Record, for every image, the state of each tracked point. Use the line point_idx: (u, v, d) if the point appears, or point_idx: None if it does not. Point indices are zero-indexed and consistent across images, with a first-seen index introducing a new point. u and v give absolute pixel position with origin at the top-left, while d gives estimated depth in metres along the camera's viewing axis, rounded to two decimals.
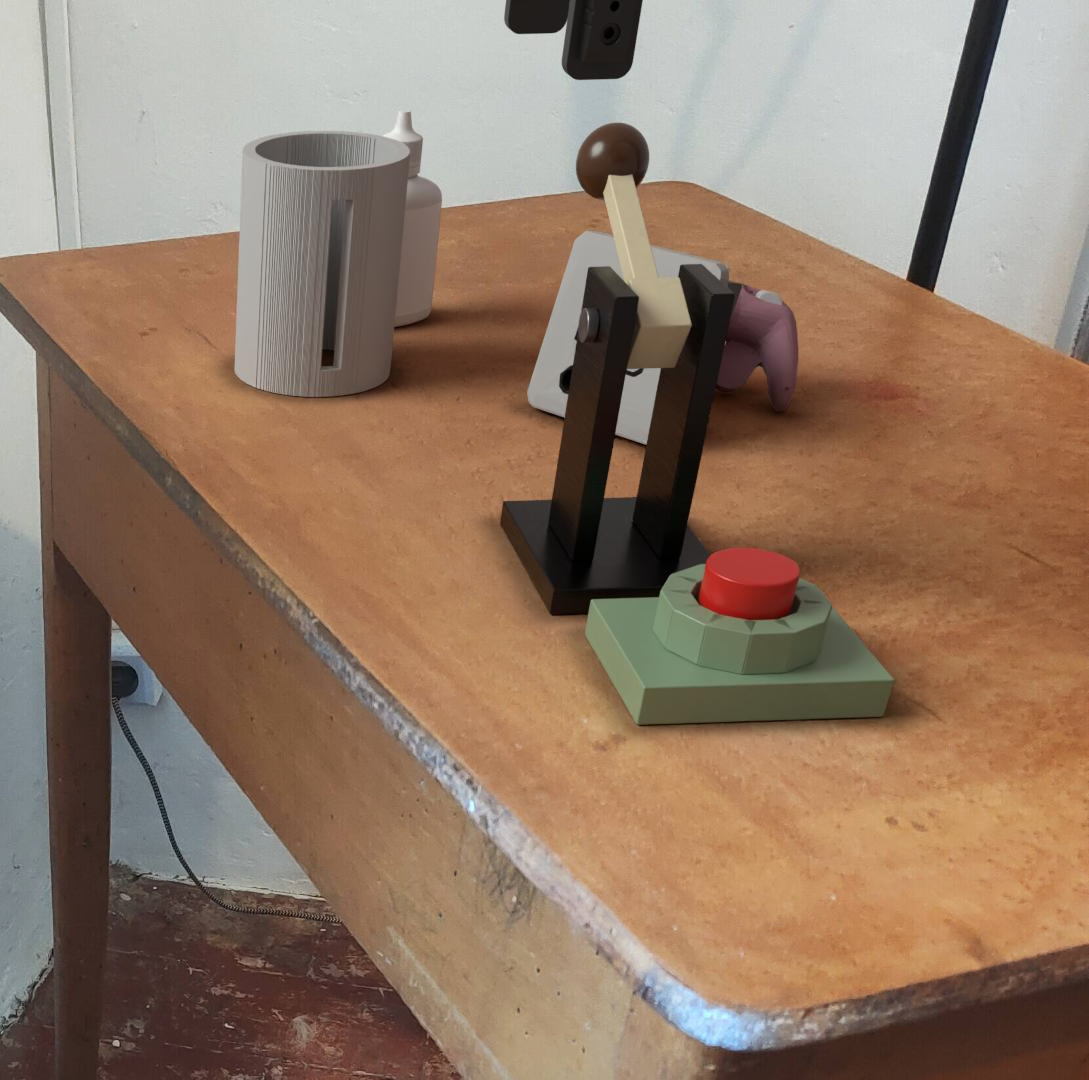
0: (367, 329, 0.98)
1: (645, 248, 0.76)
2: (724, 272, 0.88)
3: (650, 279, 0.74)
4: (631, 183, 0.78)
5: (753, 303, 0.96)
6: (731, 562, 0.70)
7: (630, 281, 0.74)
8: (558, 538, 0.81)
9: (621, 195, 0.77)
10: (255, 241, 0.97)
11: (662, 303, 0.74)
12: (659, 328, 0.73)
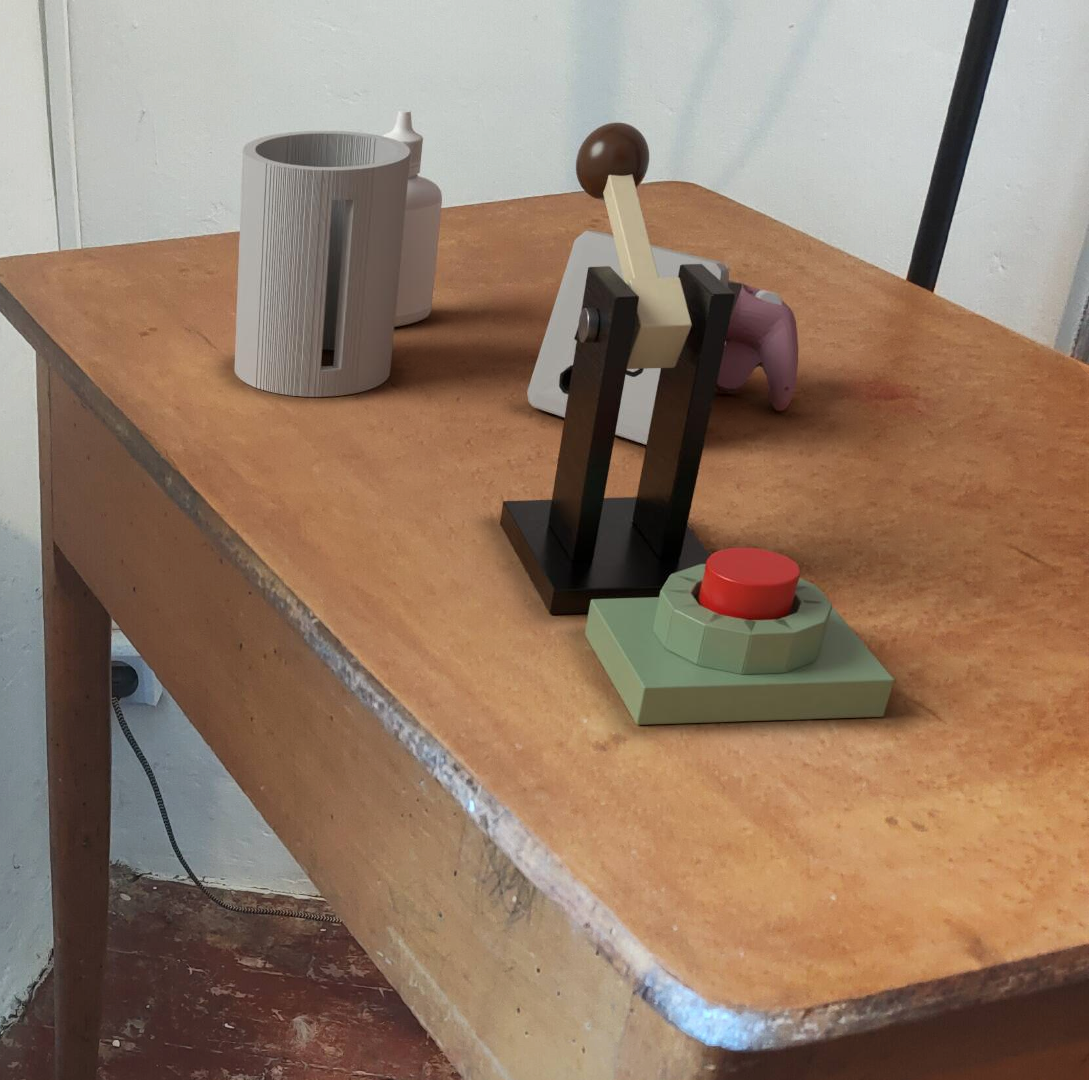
0: (367, 329, 0.98)
1: (645, 248, 0.76)
2: (724, 272, 0.88)
3: (650, 279, 0.74)
4: (631, 183, 0.78)
5: (753, 303, 0.96)
6: (731, 562, 0.70)
7: (630, 281, 0.74)
8: (558, 538, 0.81)
9: (621, 195, 0.77)
10: (255, 241, 0.97)
11: (662, 303, 0.74)
12: (659, 328, 0.73)
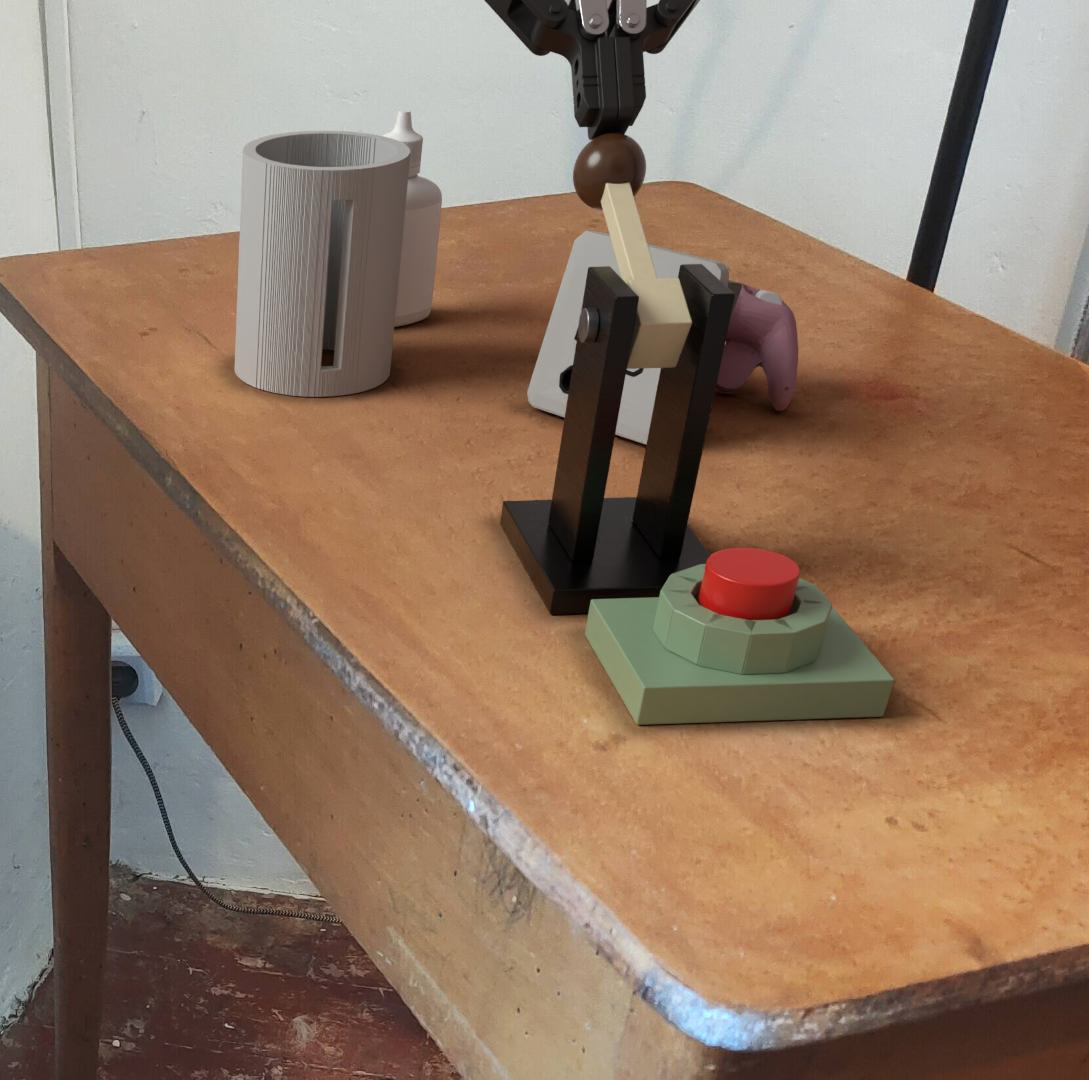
0: (367, 329, 0.98)
1: (644, 251, 0.76)
2: (724, 272, 0.88)
3: (649, 279, 0.74)
4: (628, 191, 0.78)
5: (753, 303, 0.96)
6: (731, 562, 0.70)
7: (629, 281, 0.74)
8: (558, 538, 0.81)
9: (619, 202, 0.78)
10: (255, 241, 0.97)
11: (662, 302, 0.74)
12: (659, 326, 0.73)
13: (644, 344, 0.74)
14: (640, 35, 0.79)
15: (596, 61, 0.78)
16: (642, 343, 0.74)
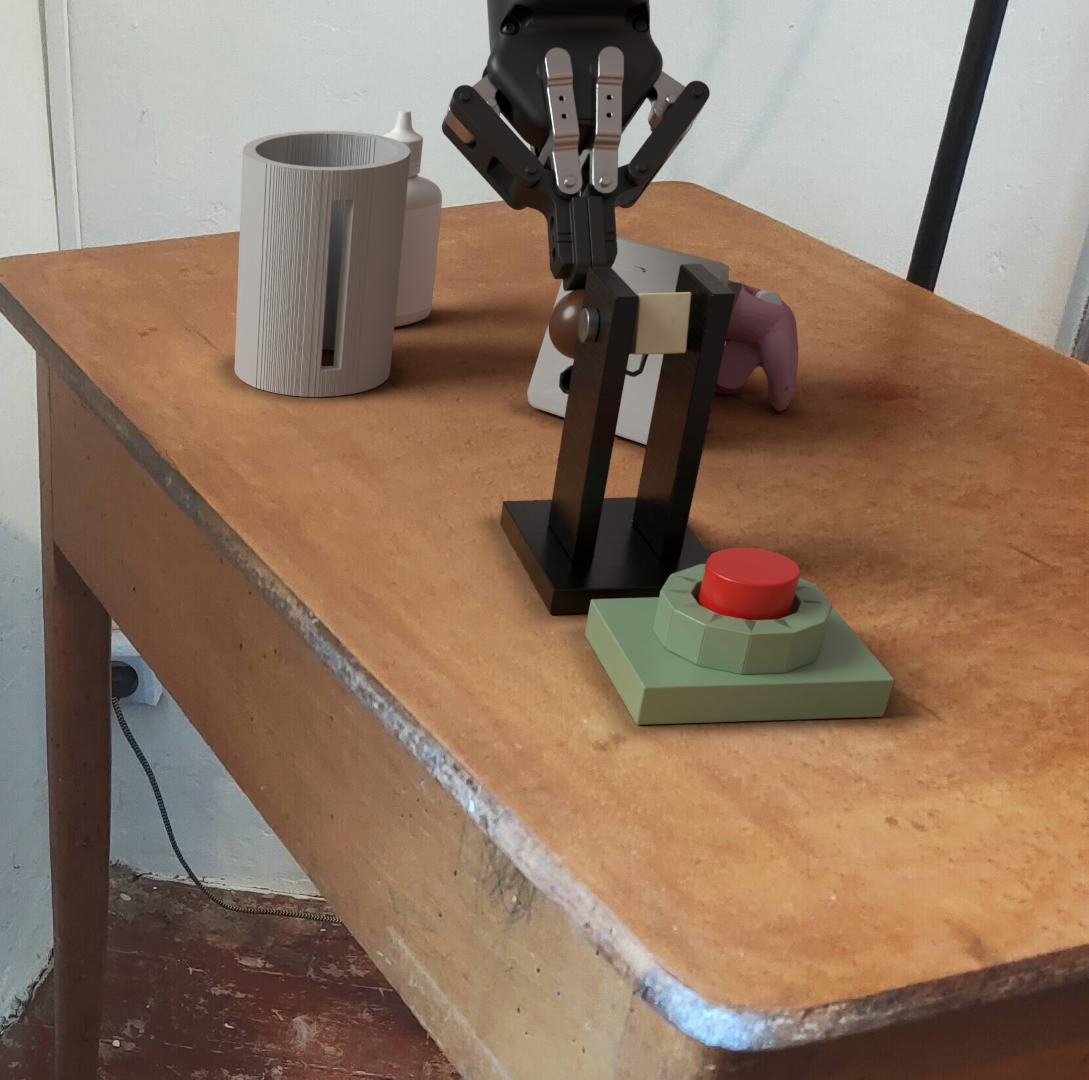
0: (367, 329, 0.98)
1: None
2: (724, 272, 0.88)
3: None
4: None
5: (753, 303, 0.96)
6: (731, 562, 0.70)
7: None
8: (558, 538, 0.81)
9: None
10: (255, 241, 0.97)
11: None
12: (659, 296, 0.73)
13: (648, 321, 0.73)
14: (612, 194, 0.83)
15: (570, 218, 0.83)
16: (646, 318, 0.73)
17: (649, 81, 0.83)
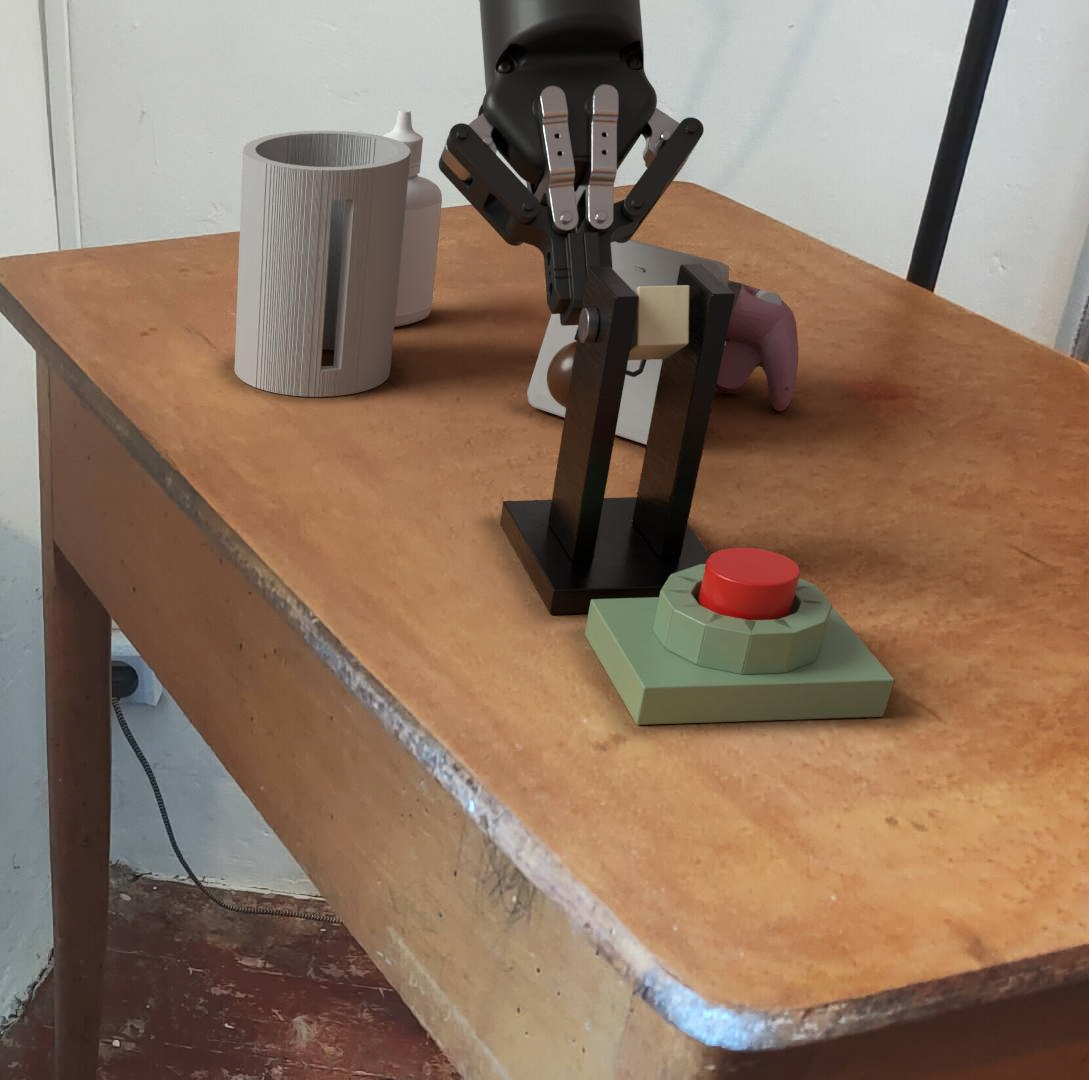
0: (367, 329, 0.98)
1: None
2: (724, 272, 0.88)
3: None
4: None
5: (753, 303, 0.96)
6: (731, 562, 0.70)
7: None
8: (558, 538, 0.81)
9: None
10: (255, 241, 0.97)
11: None
12: (657, 288, 0.73)
13: (648, 312, 0.73)
14: (608, 229, 0.84)
15: (567, 254, 0.84)
16: (646, 310, 0.73)
17: (643, 118, 0.84)
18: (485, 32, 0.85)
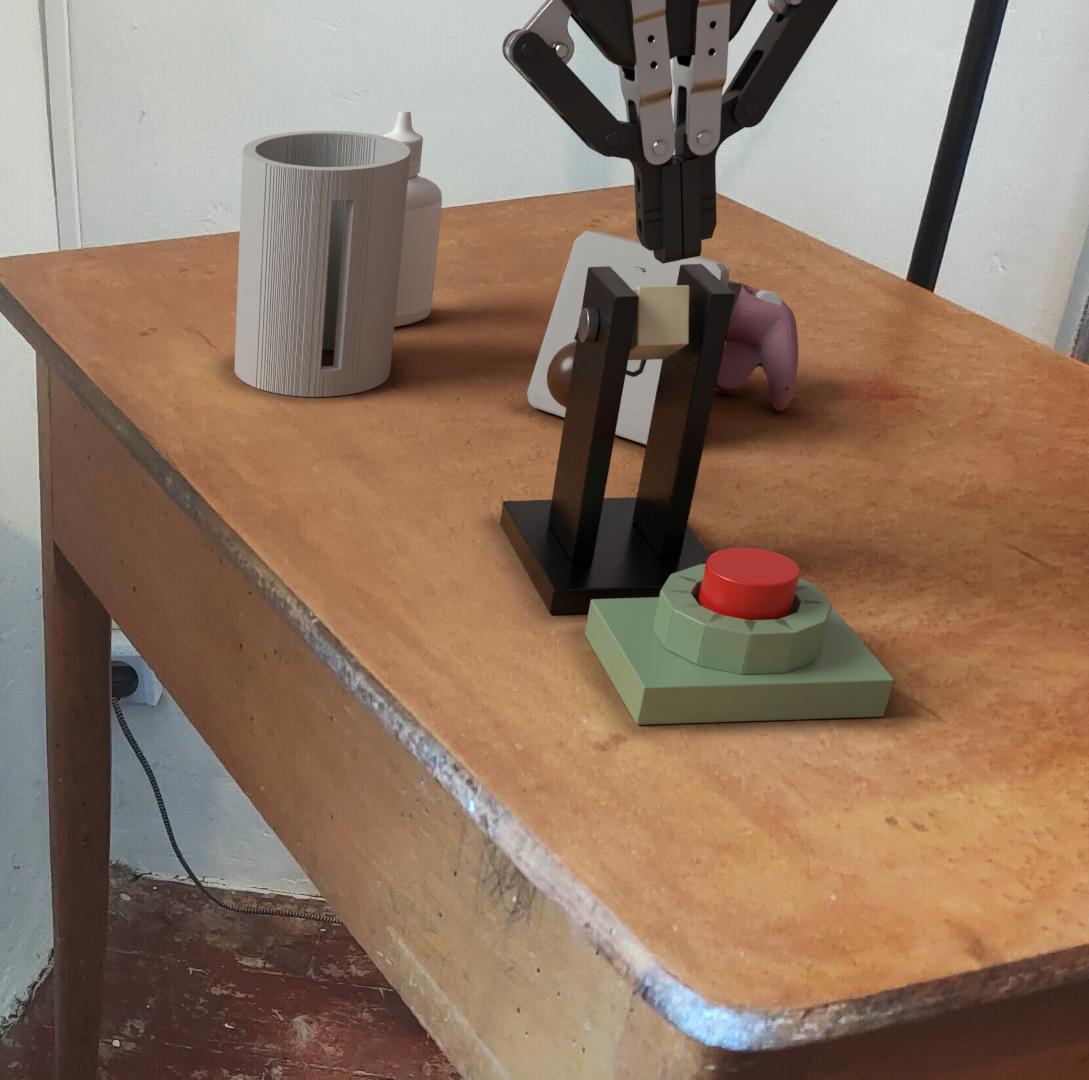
0: (367, 329, 0.98)
1: None
2: (724, 272, 0.88)
3: None
4: None
5: (753, 303, 0.96)
6: (731, 562, 0.70)
7: None
8: (558, 538, 0.81)
9: None
10: (255, 241, 0.97)
11: None
12: (657, 288, 0.73)
13: (648, 312, 0.73)
14: None
15: (660, 188, 0.69)
16: (646, 310, 0.73)
17: None
18: None
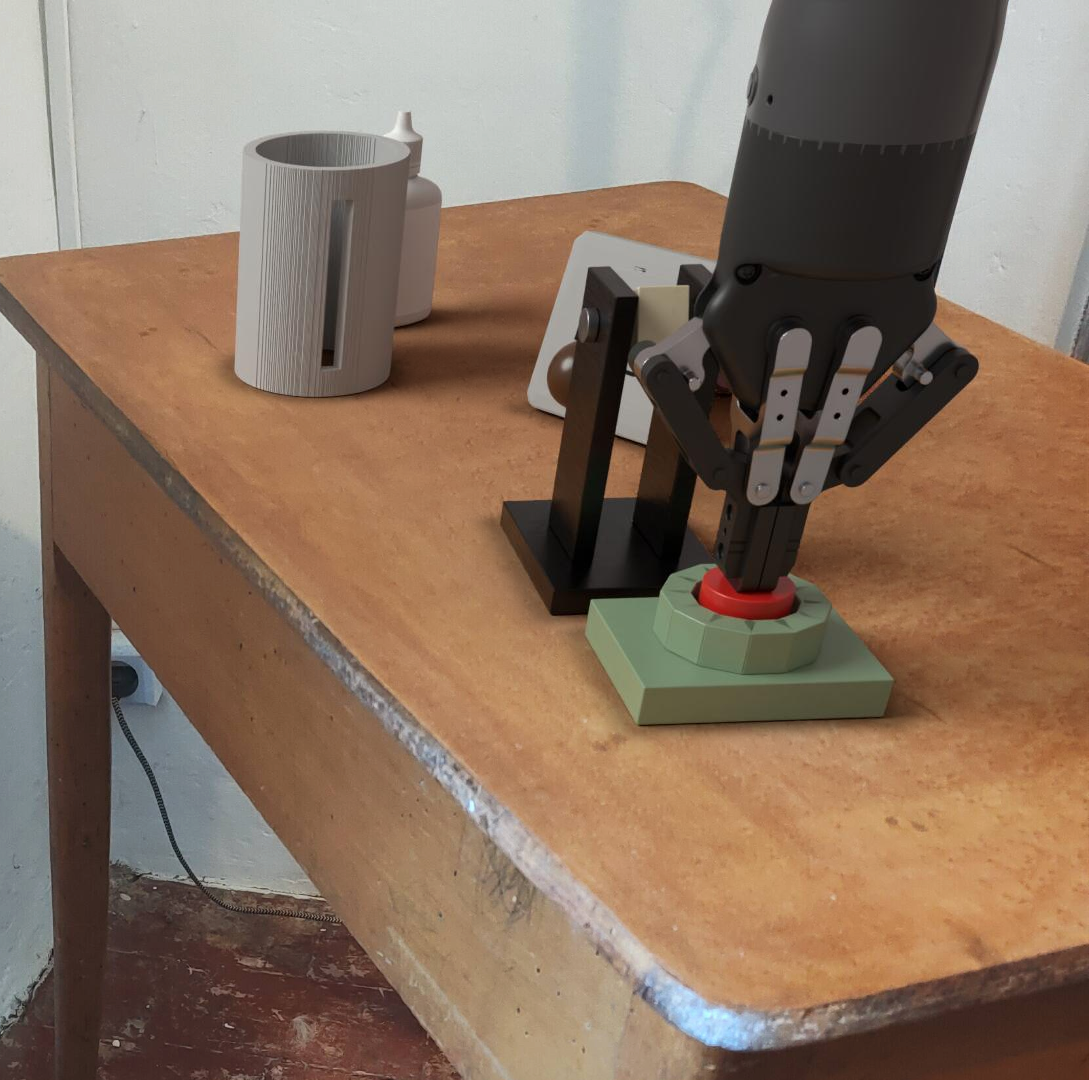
0: (367, 329, 0.98)
1: None
2: None
3: None
4: None
5: None
6: None
7: None
8: (558, 538, 0.81)
9: None
10: (255, 241, 0.97)
11: None
12: (657, 288, 0.73)
13: (648, 312, 0.73)
14: None
15: (751, 523, 0.68)
16: (646, 310, 0.73)
17: (907, 348, 0.64)
18: (738, 191, 0.61)
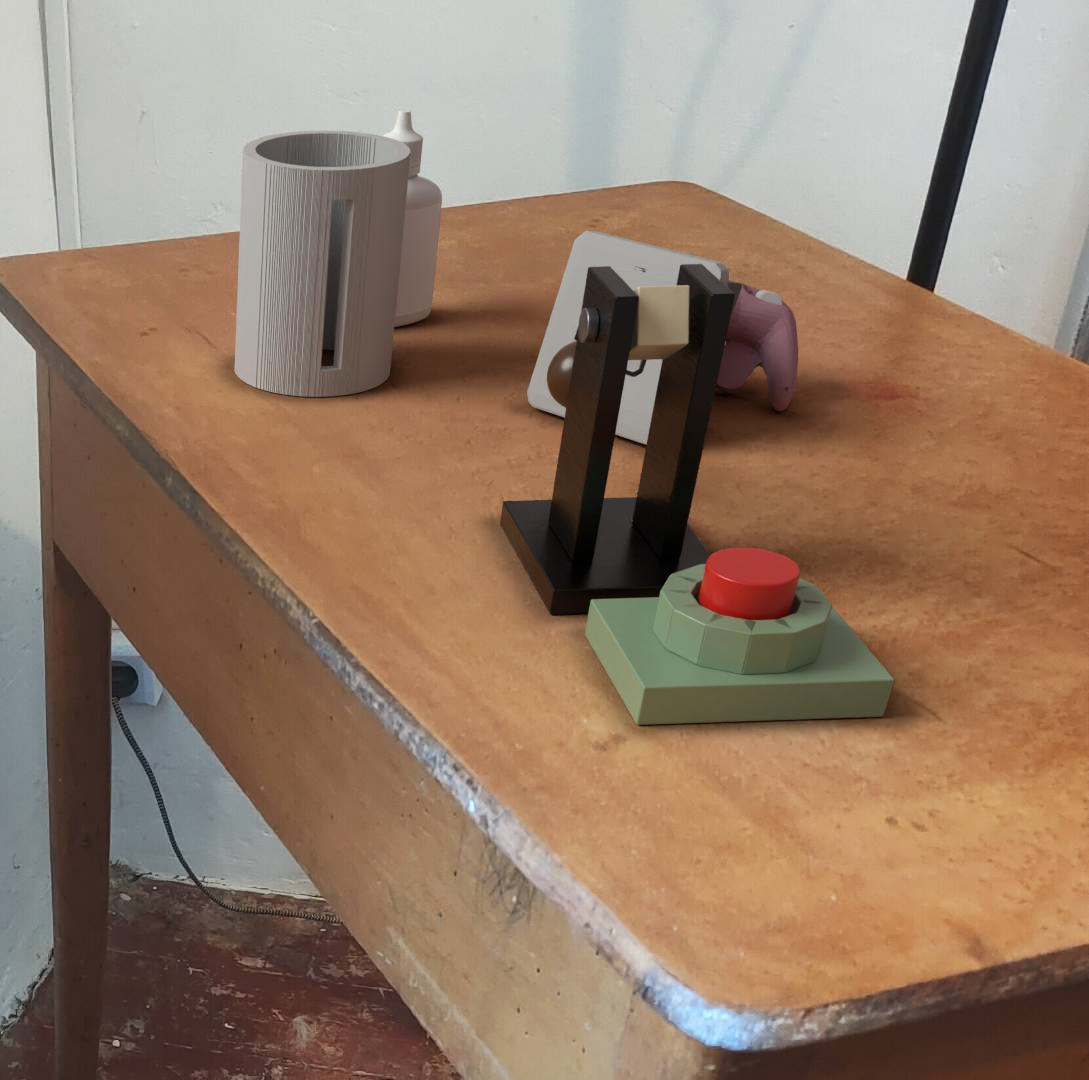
0: (367, 329, 0.98)
1: None
2: (724, 272, 0.88)
3: None
4: None
5: (753, 303, 0.96)
6: (731, 562, 0.70)
7: None
8: (558, 538, 0.81)
9: None
10: (255, 241, 0.97)
11: None
12: (657, 288, 0.73)
13: (648, 312, 0.73)
14: None
15: None
16: (646, 310, 0.73)
17: None
18: None
